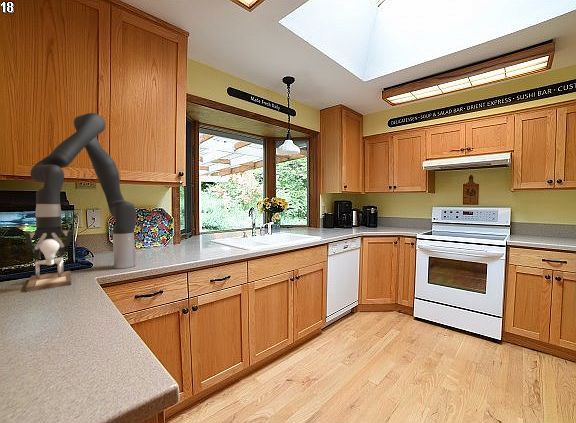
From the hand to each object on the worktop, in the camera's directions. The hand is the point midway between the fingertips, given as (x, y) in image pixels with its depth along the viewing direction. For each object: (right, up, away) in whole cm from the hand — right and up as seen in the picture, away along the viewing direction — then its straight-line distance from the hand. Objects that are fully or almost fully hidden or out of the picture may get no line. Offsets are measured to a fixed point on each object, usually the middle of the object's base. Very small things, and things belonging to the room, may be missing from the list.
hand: (50, 257), depth 107 cm
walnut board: (-4, -11, +5) cm, 13 cm away
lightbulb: (0, -3, 0) cm, 3 cm away
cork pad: (0, -10, 0) cm, 10 cm away
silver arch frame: (-6, -9, +7) cm, 14 cm away
